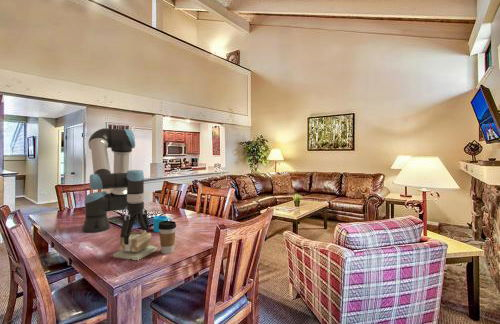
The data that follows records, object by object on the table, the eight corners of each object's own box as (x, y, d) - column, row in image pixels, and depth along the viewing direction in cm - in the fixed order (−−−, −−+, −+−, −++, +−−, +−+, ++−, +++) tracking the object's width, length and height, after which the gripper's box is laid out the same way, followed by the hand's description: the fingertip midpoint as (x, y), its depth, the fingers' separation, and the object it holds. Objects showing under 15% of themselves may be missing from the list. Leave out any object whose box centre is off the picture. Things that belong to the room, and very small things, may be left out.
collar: (151, 244, 130) (151, 232, 130) (137, 252, 121) (137, 239, 120) (134, 242, 133) (134, 230, 133) (119, 249, 124) (119, 237, 123)
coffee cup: (161, 248, 133) (160, 219, 132) (177, 248, 134) (177, 219, 133) (156, 255, 125) (156, 224, 124) (174, 254, 125) (174, 224, 125)
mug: (156, 233, 157) (156, 220, 157) (151, 230, 163) (151, 217, 163) (175, 229, 165) (175, 216, 165) (169, 226, 171) (169, 214, 171)
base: (113, 256, 122) (113, 239, 122) (134, 246, 136) (134, 230, 135) (137, 260, 118) (137, 242, 118) (157, 249, 132) (157, 233, 131)
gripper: (124, 207, 114) (124, 256, 115) (156, 198, 135) (157, 239, 137) (110, 206, 116) (111, 254, 117) (144, 197, 138) (145, 238, 139)
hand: (135, 246), depth 127 cm, fingers closed on collar, 10 cm apart
